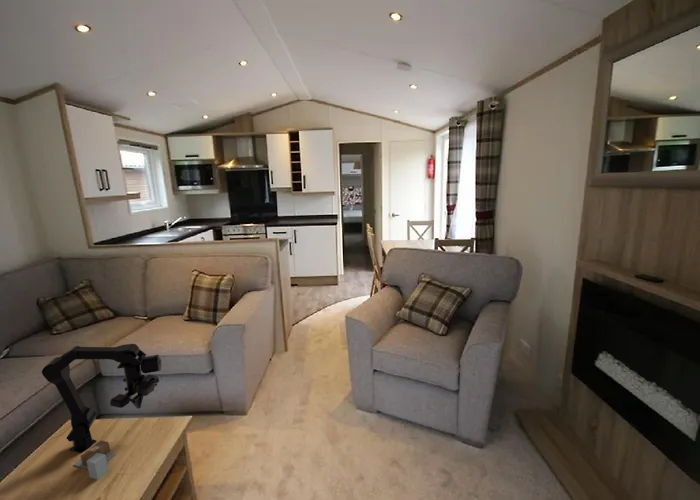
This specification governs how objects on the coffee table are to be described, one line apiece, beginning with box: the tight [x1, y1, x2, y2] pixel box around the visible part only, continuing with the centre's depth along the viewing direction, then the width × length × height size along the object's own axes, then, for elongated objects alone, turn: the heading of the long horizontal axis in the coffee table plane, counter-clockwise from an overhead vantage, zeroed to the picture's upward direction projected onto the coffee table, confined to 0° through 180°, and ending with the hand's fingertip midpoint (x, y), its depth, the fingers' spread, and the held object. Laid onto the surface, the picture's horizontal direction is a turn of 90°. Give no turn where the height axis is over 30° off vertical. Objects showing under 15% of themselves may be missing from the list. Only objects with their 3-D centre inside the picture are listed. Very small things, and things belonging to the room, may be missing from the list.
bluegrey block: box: [86, 453, 109, 481], centre depth 124 cm, size 4×4×7 cm
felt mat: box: [73, 451, 116, 470], centre depth 131 cm, size 11×8×1 cm
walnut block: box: [80, 440, 111, 466], centre depth 131 cm, size 4×4×8 cm
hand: (138, 408), depth 142 cm, fingers closed
